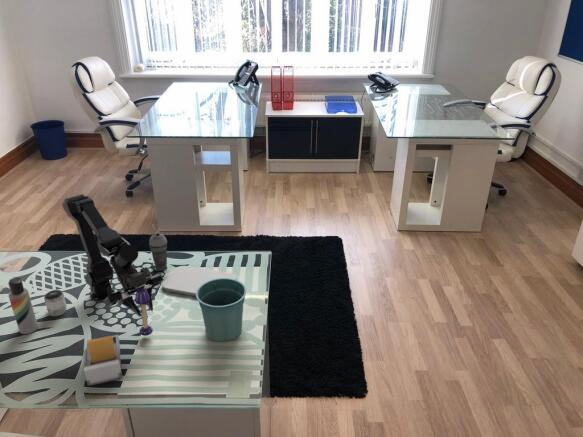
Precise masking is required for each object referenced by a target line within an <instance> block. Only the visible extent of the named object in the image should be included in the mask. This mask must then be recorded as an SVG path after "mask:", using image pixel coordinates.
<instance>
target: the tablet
mask: <svg viewBox="0 0 583 437" xmlns="http://www.w3.org/2000/svg"><path fill="white" fill-rule="evenodd" d="M217 278H231V279H235V280H237V276H236V275H235V274H234V273H230V272H227V271H226V272H224V271H219V270H214V269H213V270H212V269H208V268H200V267H195V266H189V265H180V266H177V267H176V268H175V269H174V270H173V271H172V272H171V273H170V274H169V275H168V277H166V278H165V280H163V281H162V288H163V289H164V290H165V291H166V292H170V293H171V292H172V293H178V294H182V295H188V296H193V297H196V291H197V289H198V288H199V287H200V286H201V285H202V284H204V283H205V282H207V281H210V280H213V279H217Z"/></svg>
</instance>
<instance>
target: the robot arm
mask: <svg viewBox="0 0 583 437" xmlns="http://www.w3.org/2000/svg"><path fill="white" fill-rule="evenodd" d="M63 201H64V202H62V209H63V210H64V212H65V213H66V215H67V217H68V218H70V219H71V220H72V221H74V222H75V226H76V228H77V230H78V235H79V237H80V241H81V243H82V246H83V248H84V251H85V253H86V257H87V263H86V265H85V266H86V268H85V269H86V271H87V273H86V275H84V280H85V283H86V284H87V285H88V286H89V287H90V288H91V292H92V293H90V295H89V298H92V299H94V300H95V299H96V300H100V301H104V304H105V306H106V308H110V307H111V308H112V306H115V305H116V304H118V301H119V306H121V305H123V306H125V307H127V308H128V309H129V310H131V311H132V312H133V313H134V314H135V315H137V316H138V317H140V318H142V316H141V310H140V309H139V308H138V306H137V304H136V303H135V300H134V298H133V294H135V293H136V292H137V290H138V289H140V288H144V289H146V290H147V292H148V295H149V297H150V301H149V302H148V303H147V304H146V306H148V308H149V310H150V311H151V312H153V311H154V305H153V289H154V288H155V287H156V286H158V285H160V284H161V283H163V282H164V281H165V280H164V278H163V275H162V274H160V273H156V274H153V275H151V272H150V270H149V268H148V266H145V267H142V268H140V271H138V270H137V269H136V267H134V266H133V264H134V262H135V261H136V260H137V259H138V257H139V251H138V249H137V247H135V246H134V245H132V244H131V243H130V242H129V241H127V240H126V239H125V238H124V237H123V236H121V235H120V234H119V232H118V231H117V230H115V229H112V228H111V227H110V226H109V225H108V223H107V222H106V220H105V218H103V216H102V214H101V213H100V212H99V210H98V209H97V207H96V205H95V201H94V200H93V199H92V198H91V196H89V195H86V196H85V195H84V194H82V193H79V194H77V195H75V196H70V197H68V198H67V197H66V198H65V199H64V200H63ZM96 238H97V239H96ZM102 255H103V256H102ZM104 256H105V257H107V258H109V257H110V260H108V259H107V258H105V257H104ZM114 272H115V275H116V277H117V282H119V283H120V285H121V287H122V291H121V292H120V291H118V290H117V291H116V292H115V290H114V289H112V284H111V282H110V281H111V280H114Z"/></svg>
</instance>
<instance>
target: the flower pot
mask: <svg viewBox="0 0 583 437" xmlns="http://www.w3.org/2000/svg"><path fill="white" fill-rule="evenodd" d="M246 295H247V287H246V285H245V284H244V283H243V282H241V281H240V280H238V279H236V280H235V279H231V278H217V279H213V280H210V281H207V282H205V283H204V284H202V285H201V286H200V287H199V288H198V289H197V291H196V296H195V297H196V299H197V301H198V304H199V307H200V309H201V312H202V320H203V323H204V328H205V333H206V335H207V337H209V339H210V340H212V341H216V342H227V341H229V340H234V339H236V338H237V337H238V336H239V335H240V334H241V332H242V330H243V329H242V328H243V318H244V316H243V314H244V312H243V311H244V304H245V297H246Z"/></svg>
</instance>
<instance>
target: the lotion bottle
mask: <svg viewBox="0 0 583 437" xmlns="http://www.w3.org/2000/svg"><path fill="white" fill-rule="evenodd" d="M7 284H8V288H9V290H10V292H9V293H8V299H9V302H10V306H11V309H12V312H13V315H14V319H15V321H16V324H17V328H18V330H19V333H20V334H22V335H28V334H33V333H34V332H35V331H36V330H38V325H39V324H38V320H37V318H36V313H35V311H34V307H33V304H32V300H31V296H30V294H29V290H28V289H27V288H26V287H24V285H23V280H22V279H21V277H14V278H10V279H9V280H8V283H7Z"/></svg>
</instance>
